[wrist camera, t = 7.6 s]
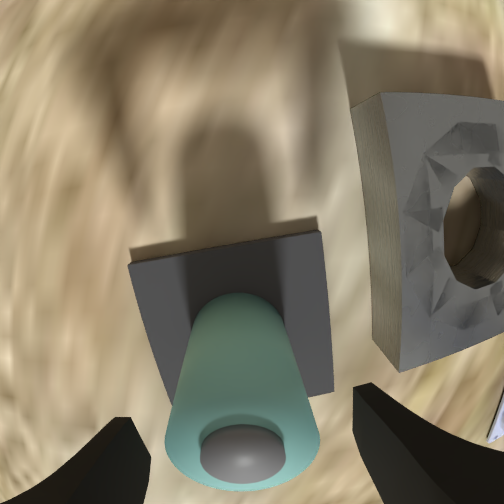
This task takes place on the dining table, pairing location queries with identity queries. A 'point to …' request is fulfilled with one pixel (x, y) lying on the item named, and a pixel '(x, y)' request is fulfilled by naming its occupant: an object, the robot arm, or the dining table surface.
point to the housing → (430, 221)
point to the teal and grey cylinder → (240, 400)
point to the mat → (240, 281)
